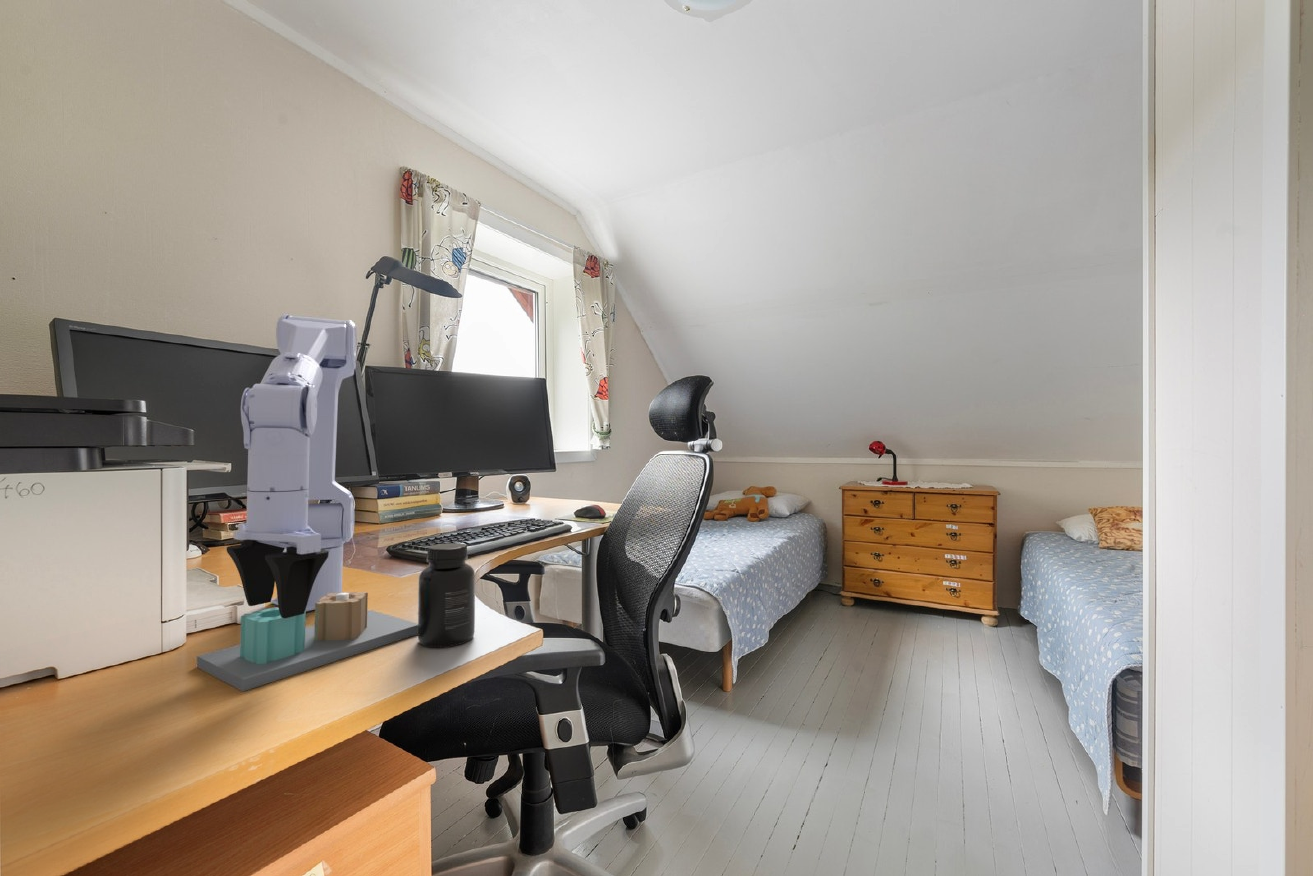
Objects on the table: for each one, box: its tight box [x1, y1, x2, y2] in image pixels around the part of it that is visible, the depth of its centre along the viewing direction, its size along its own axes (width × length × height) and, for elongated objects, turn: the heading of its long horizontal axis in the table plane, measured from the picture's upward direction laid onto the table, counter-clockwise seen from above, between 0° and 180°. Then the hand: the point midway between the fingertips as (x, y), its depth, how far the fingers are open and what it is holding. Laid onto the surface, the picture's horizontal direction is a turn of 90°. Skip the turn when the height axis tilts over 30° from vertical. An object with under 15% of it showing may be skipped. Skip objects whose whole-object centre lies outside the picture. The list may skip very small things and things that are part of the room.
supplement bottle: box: [417, 542, 476, 648], centre depth 69 cm, size 7×7×12 cm
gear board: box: [196, 591, 418, 692], centre depth 65 cm, size 11×20×6 cm, turn 149°
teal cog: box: [239, 606, 307, 664], centre depth 61 cm, size 5×5×4 cm
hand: (275, 609), depth 61 cm, fingers open, 7 cm apart
